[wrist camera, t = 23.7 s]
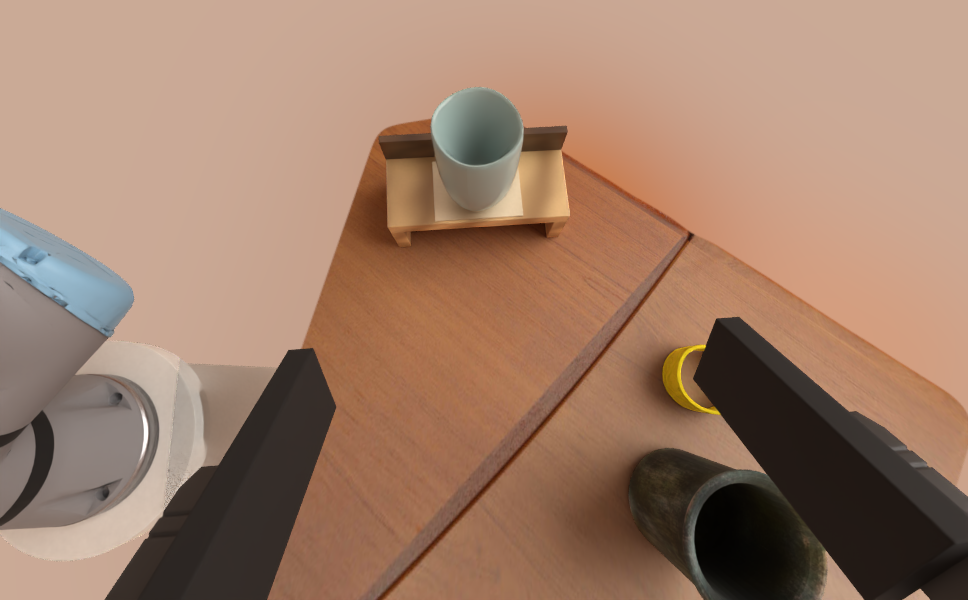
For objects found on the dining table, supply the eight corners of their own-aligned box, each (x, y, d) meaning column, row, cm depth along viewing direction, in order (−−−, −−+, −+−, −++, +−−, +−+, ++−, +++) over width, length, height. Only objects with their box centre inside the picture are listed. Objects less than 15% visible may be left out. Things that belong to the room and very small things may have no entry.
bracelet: (729, 416, 40) (751, 420, 37) (659, 405, 41) (675, 408, 37) (730, 352, 42) (751, 351, 39) (663, 342, 42) (678, 339, 39)
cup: (525, 198, 39) (542, 138, 29) (466, 234, 38) (462, 184, 28) (487, 145, 40) (490, 71, 31) (428, 178, 39) (412, 113, 29)
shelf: (399, 247, 44) (379, 214, 35) (397, 181, 46) (378, 135, 37) (558, 236, 45) (577, 202, 36) (549, 173, 47) (566, 125, 38)
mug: (700, 432, 40) (792, 455, 28) (749, 575, 37) (875, 668, 25) (608, 455, 39) (664, 489, 28) (651, 603, 36) (733, 712, 25)
